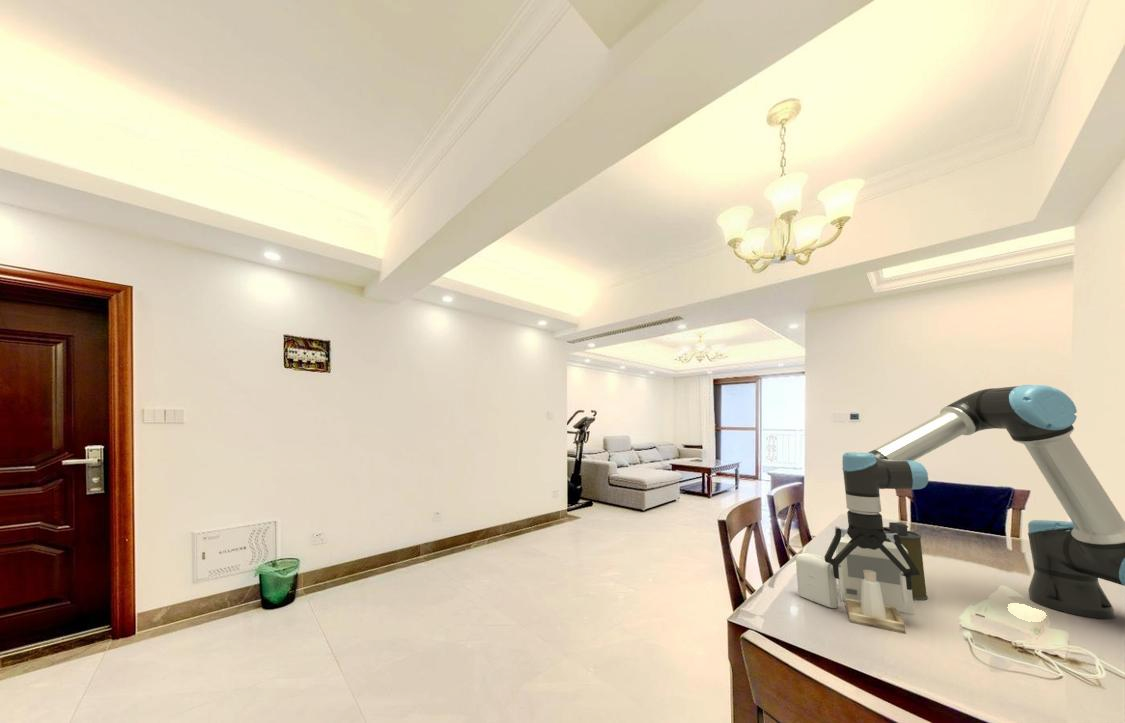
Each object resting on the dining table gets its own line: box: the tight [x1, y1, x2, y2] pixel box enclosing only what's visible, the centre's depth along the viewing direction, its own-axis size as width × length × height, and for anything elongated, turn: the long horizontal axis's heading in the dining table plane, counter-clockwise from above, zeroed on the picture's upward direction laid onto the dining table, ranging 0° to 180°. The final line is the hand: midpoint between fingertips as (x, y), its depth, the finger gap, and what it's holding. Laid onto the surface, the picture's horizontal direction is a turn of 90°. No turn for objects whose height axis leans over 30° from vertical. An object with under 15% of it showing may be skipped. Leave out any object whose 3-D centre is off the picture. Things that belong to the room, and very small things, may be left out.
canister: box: [883, 521, 929, 601], centre depth 124 cm, size 11×10×20 cm
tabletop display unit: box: [835, 535, 915, 615], centre depth 117 cm, size 16×9×16 cm, turn 61°
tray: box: [844, 598, 907, 635], centre depth 106 cm, size 11×11×2 cm
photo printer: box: [795, 552, 839, 609], centre depth 116 cm, size 10×4×12 cm, turn 26°
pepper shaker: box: [861, 569, 887, 619], centre depth 106 cm, size 5×5×11 cm
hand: (872, 597), depth 106 cm, fingers open, 13 cm apart
